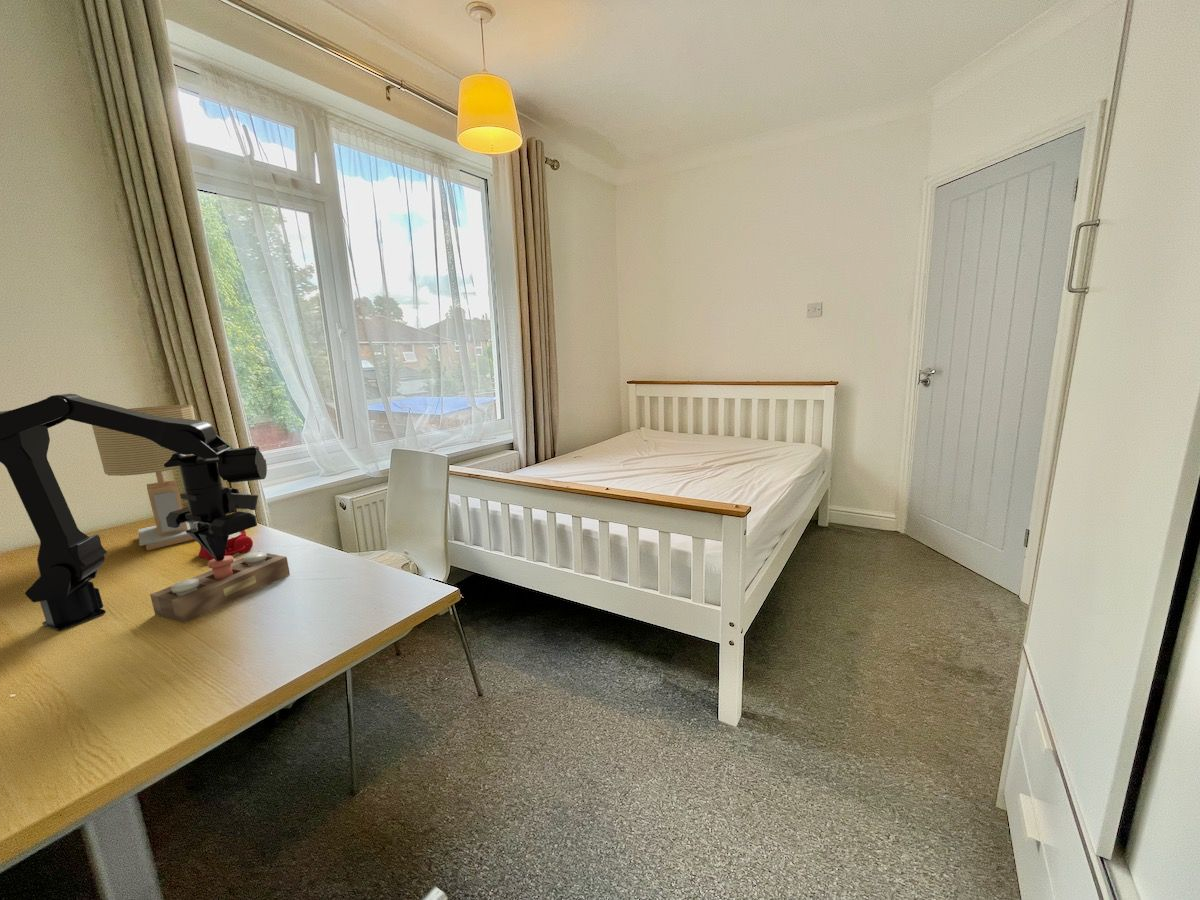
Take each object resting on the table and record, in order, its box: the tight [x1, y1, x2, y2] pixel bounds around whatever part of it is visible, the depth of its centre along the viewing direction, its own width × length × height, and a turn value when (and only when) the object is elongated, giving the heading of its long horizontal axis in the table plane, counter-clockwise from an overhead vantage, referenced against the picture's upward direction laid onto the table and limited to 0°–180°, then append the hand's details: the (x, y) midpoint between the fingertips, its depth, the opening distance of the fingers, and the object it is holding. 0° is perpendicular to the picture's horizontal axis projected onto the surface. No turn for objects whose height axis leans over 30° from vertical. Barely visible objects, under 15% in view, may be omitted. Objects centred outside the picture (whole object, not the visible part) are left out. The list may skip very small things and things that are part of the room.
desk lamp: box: [91, 404, 197, 551], centre depth 126 cm, size 20×20×35 cm
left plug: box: [171, 578, 200, 597], centre depth 91 cm, size 4×4×5 cm
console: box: [149, 552, 291, 624], centre depth 97 cm, size 20×9×4 cm, turn 158°
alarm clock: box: [198, 530, 254, 561], centre depth 118 cm, size 10×6×15 cm
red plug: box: [207, 555, 234, 581], centre depth 96 cm, size 4×4×5 cm
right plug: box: [243, 551, 268, 566], centre depth 102 cm, size 4×4×5 cm
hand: (220, 559), depth 96 cm, fingers closed, pressing on red plug
